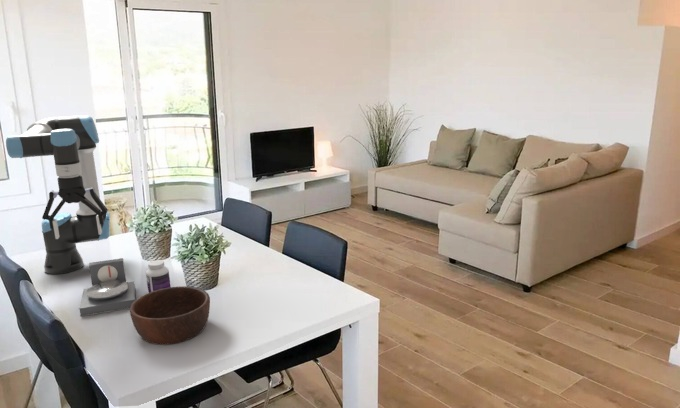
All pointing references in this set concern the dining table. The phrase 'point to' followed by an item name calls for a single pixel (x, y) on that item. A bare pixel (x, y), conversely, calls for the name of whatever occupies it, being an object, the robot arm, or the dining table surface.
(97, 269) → the dial scale
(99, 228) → the robot arm
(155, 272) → the pill bottle
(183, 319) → the wooden bowl
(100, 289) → the scale pan
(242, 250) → the dining table surface
